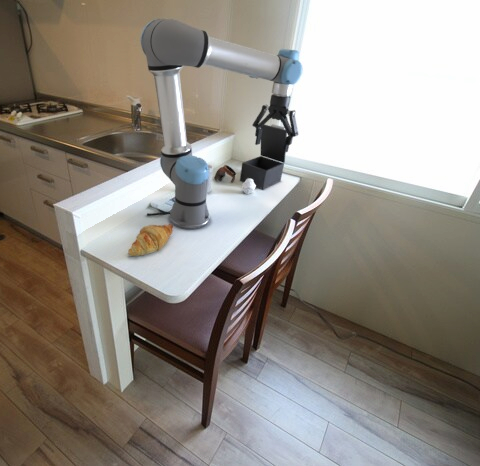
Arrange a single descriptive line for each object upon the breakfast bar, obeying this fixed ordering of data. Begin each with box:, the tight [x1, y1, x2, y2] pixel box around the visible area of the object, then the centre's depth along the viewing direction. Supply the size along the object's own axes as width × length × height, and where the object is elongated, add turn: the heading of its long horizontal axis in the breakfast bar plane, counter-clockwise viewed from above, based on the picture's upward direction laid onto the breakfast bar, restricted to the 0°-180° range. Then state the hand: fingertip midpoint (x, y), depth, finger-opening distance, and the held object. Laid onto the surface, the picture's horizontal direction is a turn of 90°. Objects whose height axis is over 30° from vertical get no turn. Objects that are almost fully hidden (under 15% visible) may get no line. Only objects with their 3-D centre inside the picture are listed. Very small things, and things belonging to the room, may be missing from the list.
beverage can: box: [207, 164, 214, 194], centre depth 143 cm, size 6×6×12 cm
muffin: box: [241, 178, 257, 195], centre depth 145 cm, size 6×6×7 cm
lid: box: [260, 123, 288, 164], centre depth 154 cm, size 16×14×5 cm
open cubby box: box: [239, 155, 285, 190], centre depth 157 cm, size 16×14×9 cm
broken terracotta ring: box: [213, 164, 237, 183], centre depth 156 cm, size 12×10×8 cm
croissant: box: [127, 223, 174, 257], centre depth 107 cm, size 21×10×8 cm, turn 145°
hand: (271, 148), depth 137 cm, fingers open, 13 cm apart
